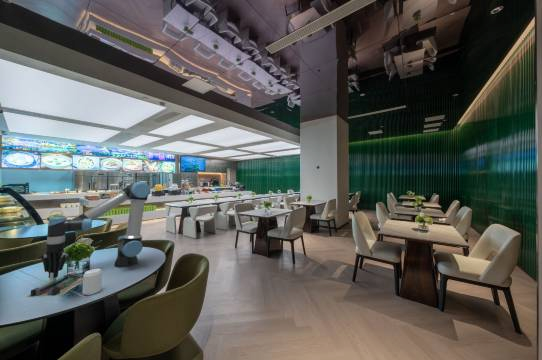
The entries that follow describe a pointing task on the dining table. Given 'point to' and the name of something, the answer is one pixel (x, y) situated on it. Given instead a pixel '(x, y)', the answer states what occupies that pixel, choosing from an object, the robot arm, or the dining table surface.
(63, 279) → the tongs arm
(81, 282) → the board
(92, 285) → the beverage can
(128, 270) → the dining table surface
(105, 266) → the dining table surface
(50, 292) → the teal-banded grey bar
